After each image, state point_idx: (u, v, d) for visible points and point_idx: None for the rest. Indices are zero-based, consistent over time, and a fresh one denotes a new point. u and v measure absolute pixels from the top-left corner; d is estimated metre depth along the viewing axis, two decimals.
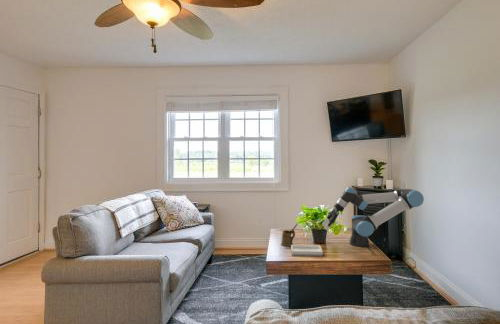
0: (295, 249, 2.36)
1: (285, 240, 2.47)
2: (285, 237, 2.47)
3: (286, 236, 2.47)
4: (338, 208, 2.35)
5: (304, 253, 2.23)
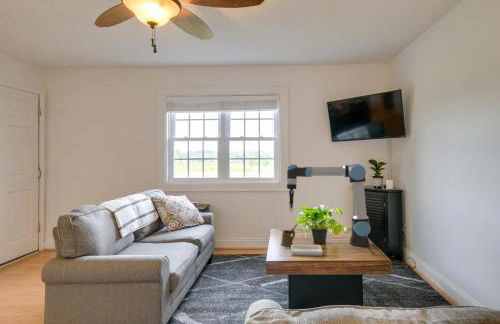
0: (295, 249, 2.36)
1: (285, 240, 2.47)
2: (285, 237, 2.47)
3: (286, 236, 2.47)
4: (290, 187, 2.45)
5: (304, 253, 2.23)
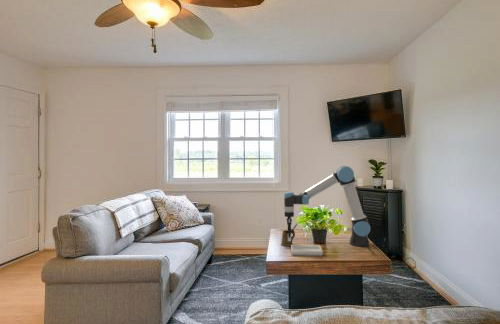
0: (295, 249, 2.36)
1: (285, 240, 2.47)
2: (285, 237, 2.47)
3: (286, 236, 2.47)
4: (288, 215, 2.46)
5: (304, 253, 2.23)
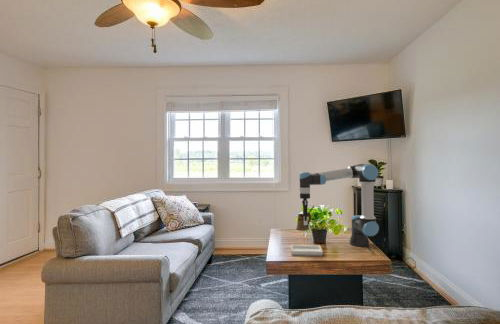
0: (295, 249, 2.36)
1: (301, 224, 2.28)
2: (301, 221, 2.28)
3: (302, 220, 2.28)
4: (304, 197, 2.27)
5: (304, 253, 2.23)
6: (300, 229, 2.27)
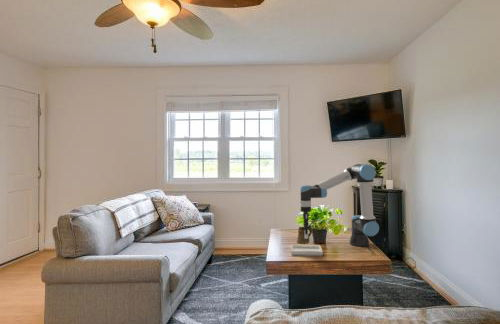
0: (295, 249, 2.36)
1: (301, 237, 2.27)
2: (301, 234, 2.27)
3: (302, 233, 2.27)
4: (305, 210, 2.27)
5: (304, 253, 2.23)
6: (301, 242, 2.27)
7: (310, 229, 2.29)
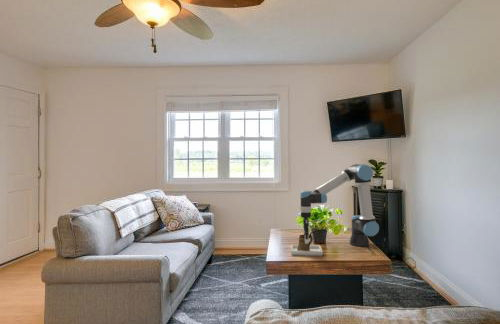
0: (295, 249, 2.36)
1: (302, 245, 2.27)
2: (302, 242, 2.27)
3: (303, 241, 2.27)
4: (305, 216, 2.27)
5: (304, 253, 2.23)
6: None
7: (311, 237, 2.29)
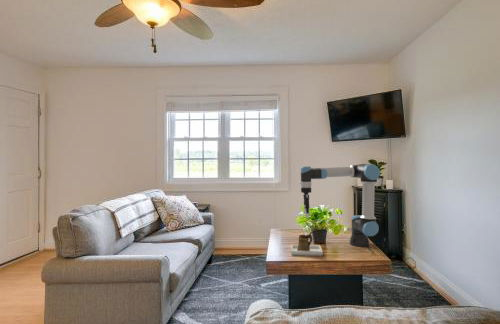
0: (295, 249, 2.36)
1: (302, 245, 2.27)
2: (302, 242, 2.28)
3: (303, 241, 2.27)
4: (305, 191, 2.28)
5: (304, 253, 2.23)
6: None
7: (310, 237, 2.29)
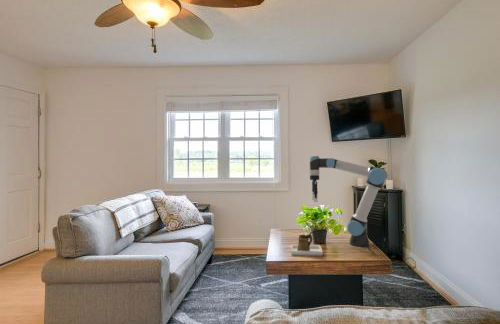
0: (295, 249, 2.36)
1: (302, 245, 2.27)
2: (302, 242, 2.28)
3: (303, 241, 2.27)
4: (314, 178, 2.50)
5: (304, 253, 2.23)
6: None
7: (310, 237, 2.29)
